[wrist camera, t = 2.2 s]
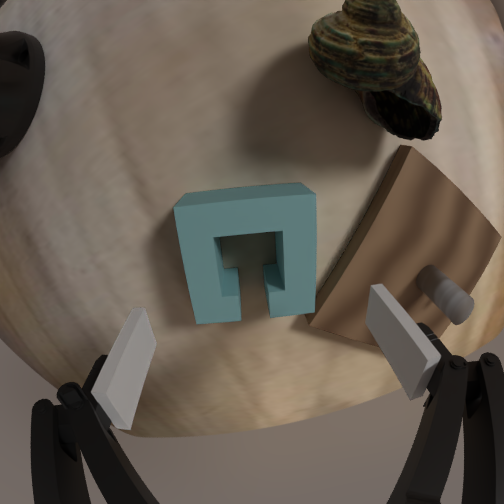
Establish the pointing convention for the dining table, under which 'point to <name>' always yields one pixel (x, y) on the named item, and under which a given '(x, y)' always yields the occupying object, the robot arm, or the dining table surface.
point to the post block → (409, 253)
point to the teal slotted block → (247, 222)
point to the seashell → (379, 65)
